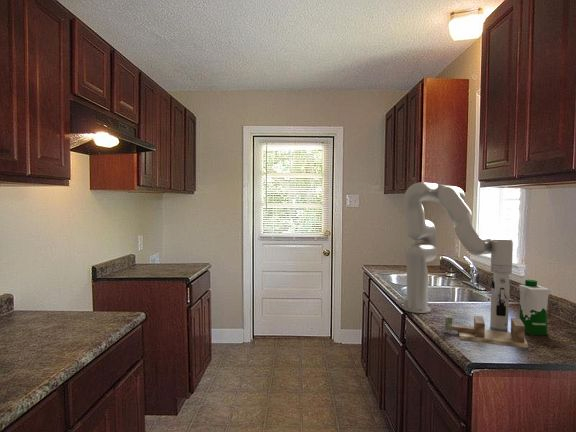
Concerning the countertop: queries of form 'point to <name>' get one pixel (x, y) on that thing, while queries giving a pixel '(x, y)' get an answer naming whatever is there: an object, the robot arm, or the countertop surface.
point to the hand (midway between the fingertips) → (499, 312)
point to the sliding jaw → (477, 329)
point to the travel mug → (497, 321)
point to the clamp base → (501, 335)
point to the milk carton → (534, 307)
